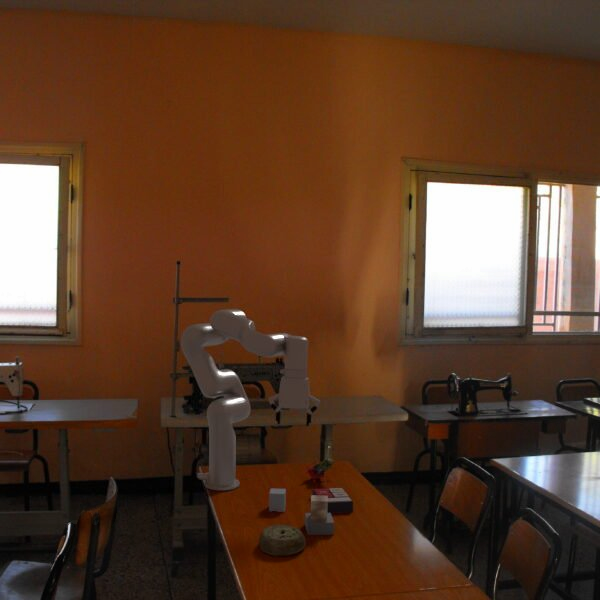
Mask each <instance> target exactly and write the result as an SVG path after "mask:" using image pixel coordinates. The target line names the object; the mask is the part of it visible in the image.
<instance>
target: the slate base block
mask: <svg viewBox="0 0 600 600" xmlns="http://www.w3.org/2000/svg"><path fill="white" fill-rule="evenodd" d="M304 526H305V527H306V528H305V527H304V528H305V531H307V532H306V536H323V535H324V536H328V535H329V536H331V535H332V536H333V535H335V521H334V519H333V515H332V513H327V521H314V520H311V512H308V513H307V512H305V513H304Z"/></svg>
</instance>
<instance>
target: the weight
mask: <svg viewBox="0 0 600 600" xmlns="http://www.w3.org/2000/svg"><path fill="white" fill-rule="evenodd" d="M306 544H307V543H306V537H305V535H304V534H303V532H302V530H300V529H299V528H298V527H295V526H291V525H287V524H275V525H270V526H267V527H265V528H264V529H263V530H262V531H261V532H260V535H259V539H258V545H259V549H260V551H261V552H263V553H265V554H268V555H269V556H274V557H279V556H284V557H285V556H286V557H287V556H291V555H294V554H295V555H296V554H297V553H299V552H302V551H303V550H304V549H305V547H306Z"/></svg>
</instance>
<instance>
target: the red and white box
mask: <svg viewBox="0 0 600 600" xmlns="http://www.w3.org/2000/svg"><path fill="white" fill-rule="evenodd" d="M312 495H320V496H328V508H327V513H331V514H337V512H343V513H354V501H353V500H352V498H351V497H350V496H349V495H348V494H347V492H346V491H345V490H344V489H343V487H338V488H337V487H336V488H335V487H334V488H333V487H331V488H315V489H313V490H312V494H311V496H312Z"/></svg>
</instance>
